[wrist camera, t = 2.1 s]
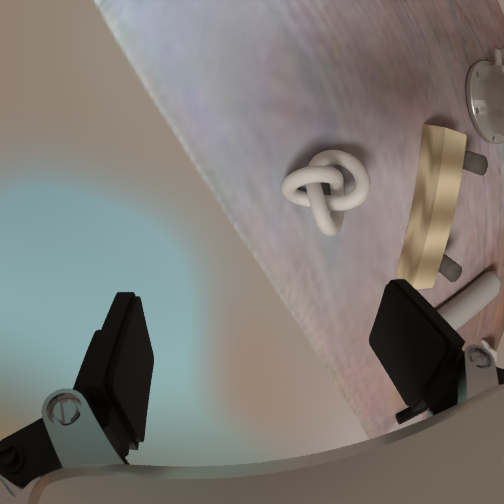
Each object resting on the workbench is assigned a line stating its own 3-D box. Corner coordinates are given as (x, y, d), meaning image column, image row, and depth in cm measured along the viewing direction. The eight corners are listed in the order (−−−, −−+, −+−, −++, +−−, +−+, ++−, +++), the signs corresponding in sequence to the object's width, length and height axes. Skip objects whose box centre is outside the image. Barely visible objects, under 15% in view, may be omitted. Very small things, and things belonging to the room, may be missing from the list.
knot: (357, 208, 31) (384, 226, 26) (292, 232, 31) (309, 256, 26) (342, 143, 27) (370, 150, 22) (271, 166, 28) (285, 178, 22)
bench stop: (423, 124, 27) (457, 129, 22) (457, 135, 28) (490, 142, 22) (395, 274, 36) (419, 298, 30) (429, 271, 36) (453, 293, 31)
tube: (503, 268, 35) (396, 350, 37) (507, 293, 35) (403, 374, 38) (485, 262, 40) (383, 336, 42) (490, 286, 41) (391, 359, 43)
